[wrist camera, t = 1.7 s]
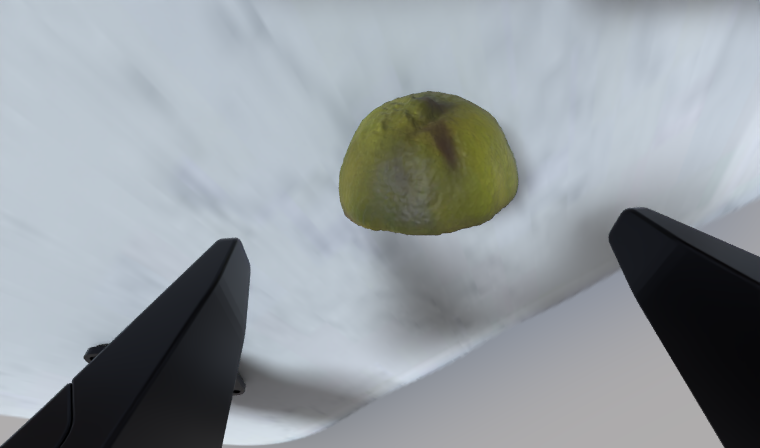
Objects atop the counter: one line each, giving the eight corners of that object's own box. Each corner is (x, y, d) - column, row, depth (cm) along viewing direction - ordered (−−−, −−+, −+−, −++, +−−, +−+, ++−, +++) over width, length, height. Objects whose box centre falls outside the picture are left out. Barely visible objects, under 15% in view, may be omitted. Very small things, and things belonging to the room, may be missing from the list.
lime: (500, 128, 12) (578, 224, 8) (397, 209, 14) (421, 316, 10) (421, 24, 9) (479, 93, 6) (309, 140, 11) (299, 247, 8)
